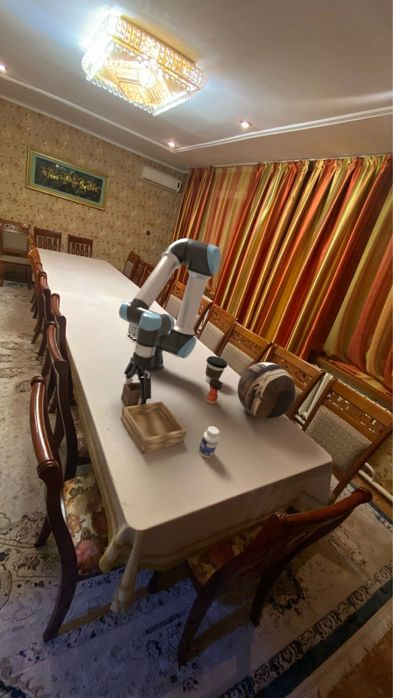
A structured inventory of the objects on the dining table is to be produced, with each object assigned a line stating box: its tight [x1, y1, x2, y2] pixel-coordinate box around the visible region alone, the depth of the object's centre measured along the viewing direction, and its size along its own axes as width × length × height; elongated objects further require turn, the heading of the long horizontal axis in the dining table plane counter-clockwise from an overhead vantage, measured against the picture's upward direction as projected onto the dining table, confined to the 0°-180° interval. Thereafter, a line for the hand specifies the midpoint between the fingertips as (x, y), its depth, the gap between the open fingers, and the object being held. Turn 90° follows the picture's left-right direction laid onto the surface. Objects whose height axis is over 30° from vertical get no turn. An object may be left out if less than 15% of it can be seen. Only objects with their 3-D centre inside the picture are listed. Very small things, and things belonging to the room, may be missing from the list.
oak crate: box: [120, 401, 187, 454], centre depth 102 cm, size 16×18×5 cm
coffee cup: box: [204, 355, 228, 384], centre depth 150 cm, size 11×11×12 cm
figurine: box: [203, 377, 223, 405], centre depth 130 cm, size 6×6×12 cm
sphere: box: [237, 361, 296, 420], centre depth 129 cm, size 25×25×25 cm
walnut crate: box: [120, 381, 141, 407], centre depth 115 cm, size 8×6×7 cm
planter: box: [127, 322, 139, 339], centre depth 179 cm, size 16×16×14 cm
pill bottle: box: [198, 425, 220, 458], centre depth 98 cm, size 5×5×10 cm
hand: (133, 401), depth 116 cm, fingers open, 12 cm apart
